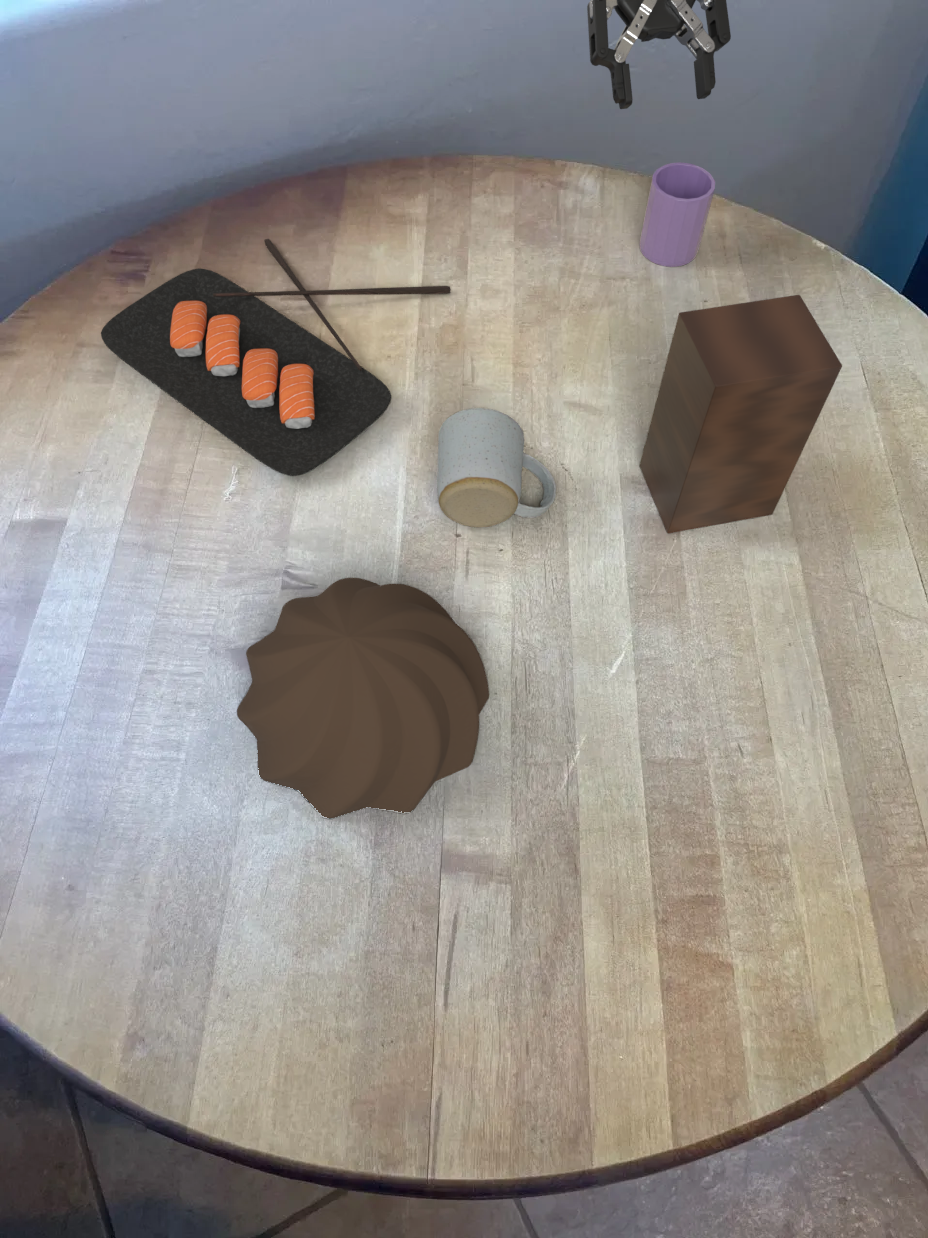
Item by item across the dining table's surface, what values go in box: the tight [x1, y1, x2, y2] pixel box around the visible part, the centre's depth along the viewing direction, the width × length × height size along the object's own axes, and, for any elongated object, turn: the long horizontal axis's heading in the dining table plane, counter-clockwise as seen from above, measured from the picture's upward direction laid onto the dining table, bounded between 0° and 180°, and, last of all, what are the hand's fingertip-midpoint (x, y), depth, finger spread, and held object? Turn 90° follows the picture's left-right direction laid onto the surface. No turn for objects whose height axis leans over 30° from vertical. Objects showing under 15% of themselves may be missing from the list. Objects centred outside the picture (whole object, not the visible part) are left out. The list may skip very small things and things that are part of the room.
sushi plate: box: [100, 238, 451, 477], centre depth 96 cm, size 29×30×4 cm
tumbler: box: [638, 161, 716, 268], centre depth 102 cm, size 6×6×8 cm
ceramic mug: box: [436, 407, 557, 528], centre depth 84 cm, size 11×8×8 cm
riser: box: [638, 294, 843, 534], centre depth 80 cm, size 10×8×18 cm
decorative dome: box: [236, 577, 490, 819], centre depth 72 cm, size 19×20×10 cm
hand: (665, 101), depth 99 cm, fingers open, 8 cm apart
